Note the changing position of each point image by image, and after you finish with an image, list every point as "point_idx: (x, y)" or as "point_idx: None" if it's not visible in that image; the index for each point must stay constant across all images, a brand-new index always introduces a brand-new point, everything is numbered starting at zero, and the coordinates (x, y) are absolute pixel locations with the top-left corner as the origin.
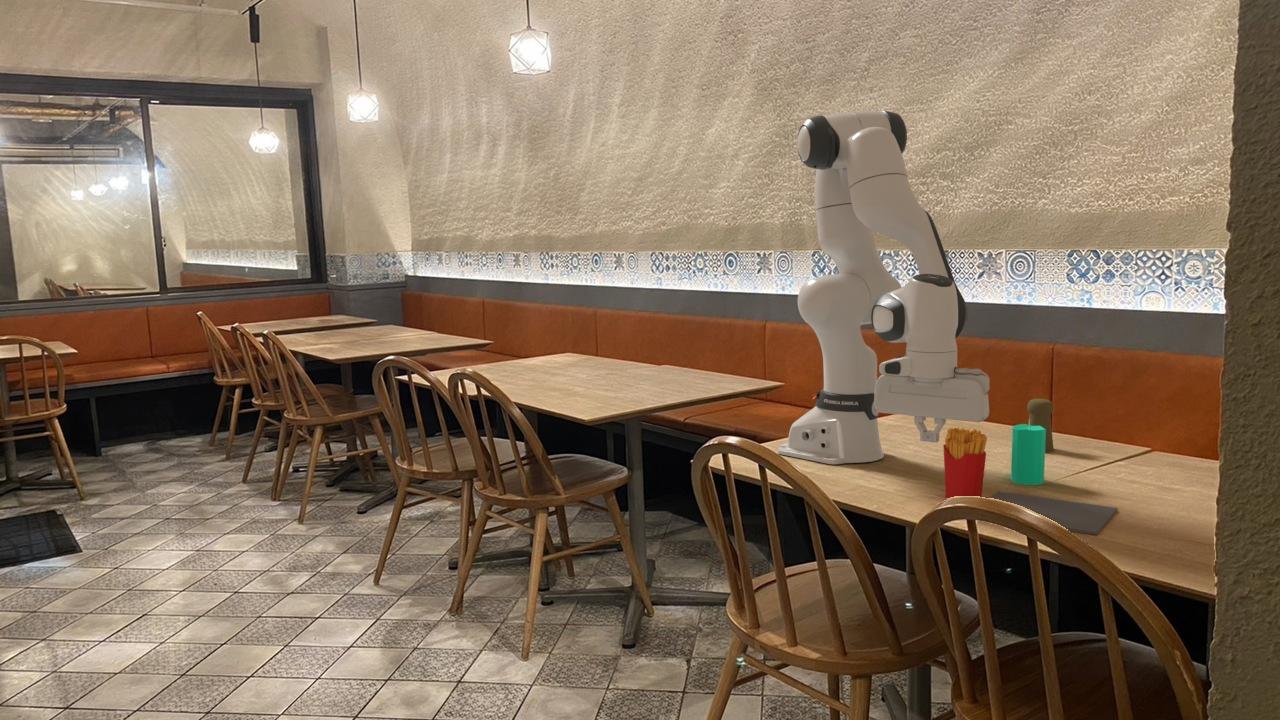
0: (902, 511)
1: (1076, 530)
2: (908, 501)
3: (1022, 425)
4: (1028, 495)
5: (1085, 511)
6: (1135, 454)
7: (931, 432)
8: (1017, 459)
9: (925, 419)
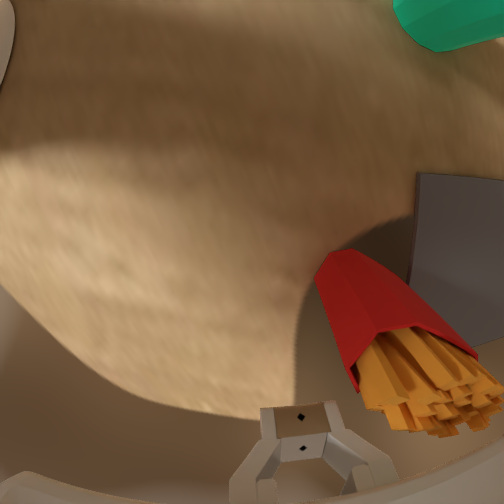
0: None
1: None
2: (248, 356)
3: None
4: (475, 179)
5: None
6: None
7: (315, 454)
8: (458, 28)
9: (276, 487)
